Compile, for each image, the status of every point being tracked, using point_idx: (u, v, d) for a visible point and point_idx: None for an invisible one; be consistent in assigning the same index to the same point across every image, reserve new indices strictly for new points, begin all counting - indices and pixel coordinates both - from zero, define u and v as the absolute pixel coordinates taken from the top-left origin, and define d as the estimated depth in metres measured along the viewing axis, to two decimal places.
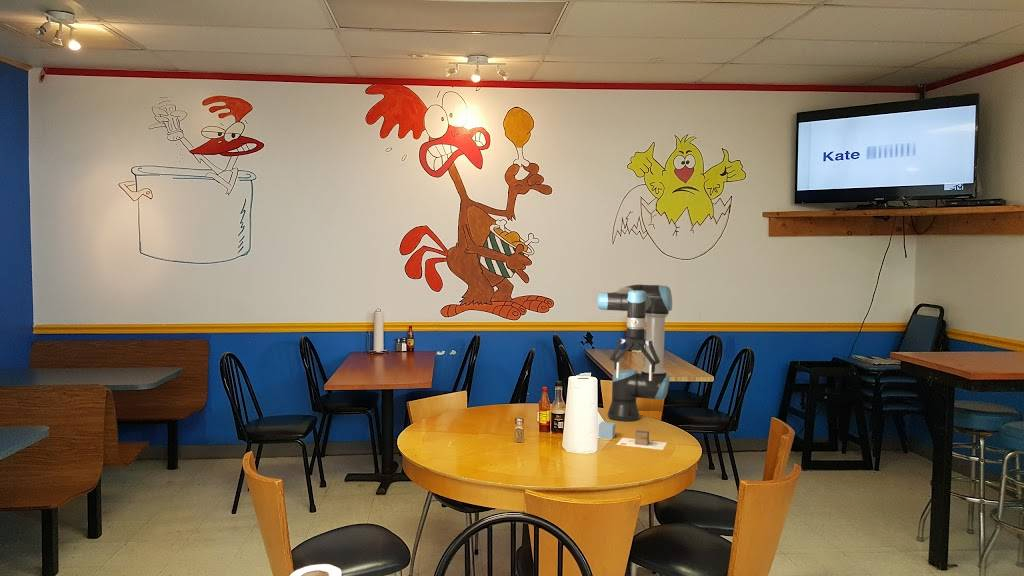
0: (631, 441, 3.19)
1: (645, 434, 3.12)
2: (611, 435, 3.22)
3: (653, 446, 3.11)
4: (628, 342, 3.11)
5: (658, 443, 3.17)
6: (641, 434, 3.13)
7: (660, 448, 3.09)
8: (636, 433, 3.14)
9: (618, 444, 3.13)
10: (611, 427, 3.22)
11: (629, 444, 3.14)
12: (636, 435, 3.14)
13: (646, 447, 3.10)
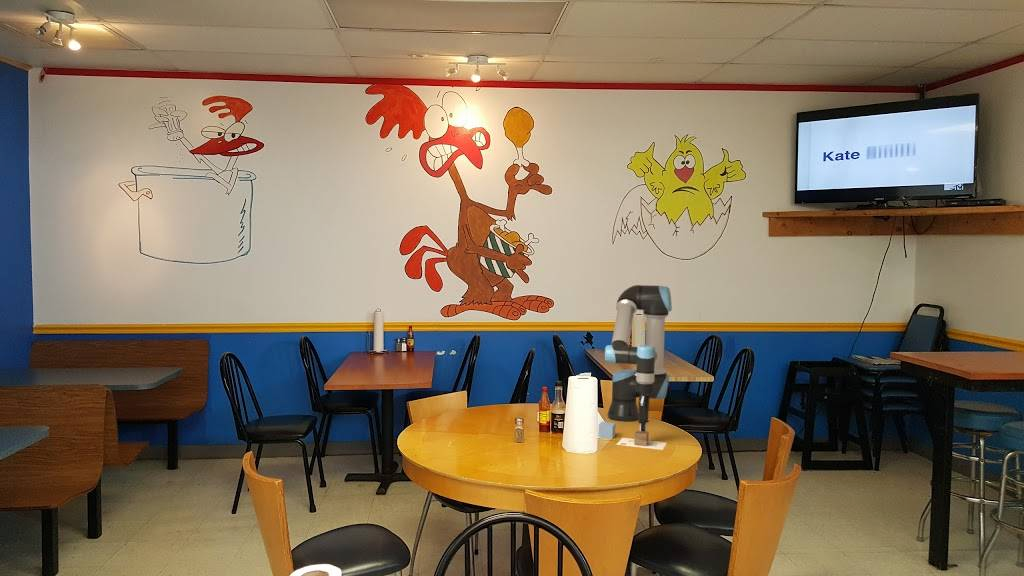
0: (631, 441, 3.19)
1: (645, 435, 3.11)
2: (611, 435, 3.22)
3: (653, 446, 3.11)
4: None
5: (658, 443, 3.17)
6: (640, 435, 3.12)
7: (660, 448, 3.09)
8: (635, 434, 3.12)
9: (618, 444, 3.13)
10: (611, 427, 3.22)
11: (629, 444, 3.14)
12: (635, 436, 3.12)
13: (646, 447, 3.10)
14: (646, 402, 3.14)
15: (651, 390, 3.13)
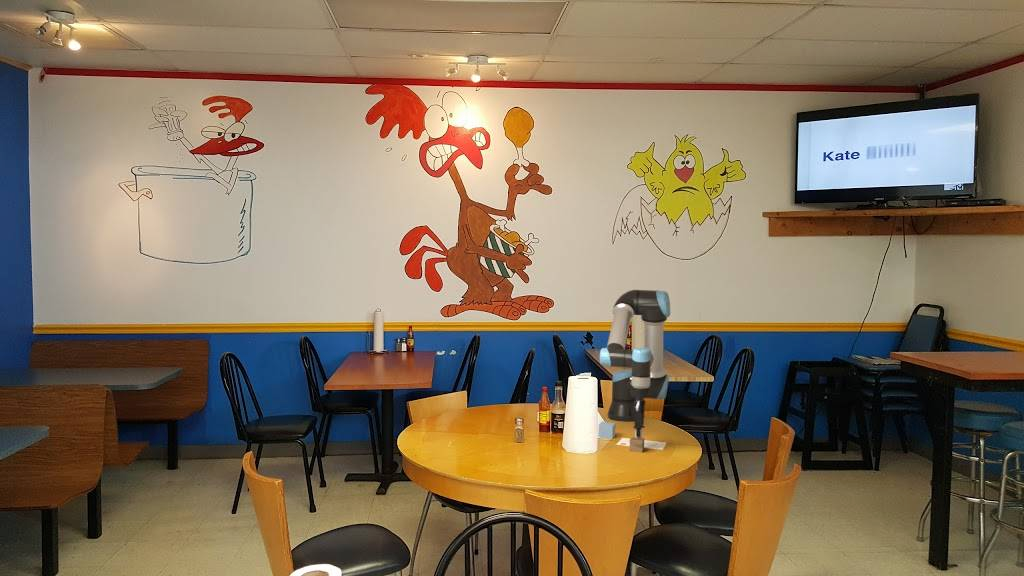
0: None
1: (640, 441, 3.01)
2: (611, 435, 3.22)
3: (653, 446, 3.11)
4: None
5: (658, 443, 3.17)
6: (636, 441, 3.02)
7: (660, 448, 3.09)
8: (631, 440, 3.03)
9: (618, 444, 3.13)
10: (611, 427, 3.22)
11: (629, 444, 3.14)
12: (631, 442, 3.03)
13: (646, 447, 3.10)
14: (642, 407, 3.05)
15: (647, 395, 3.04)
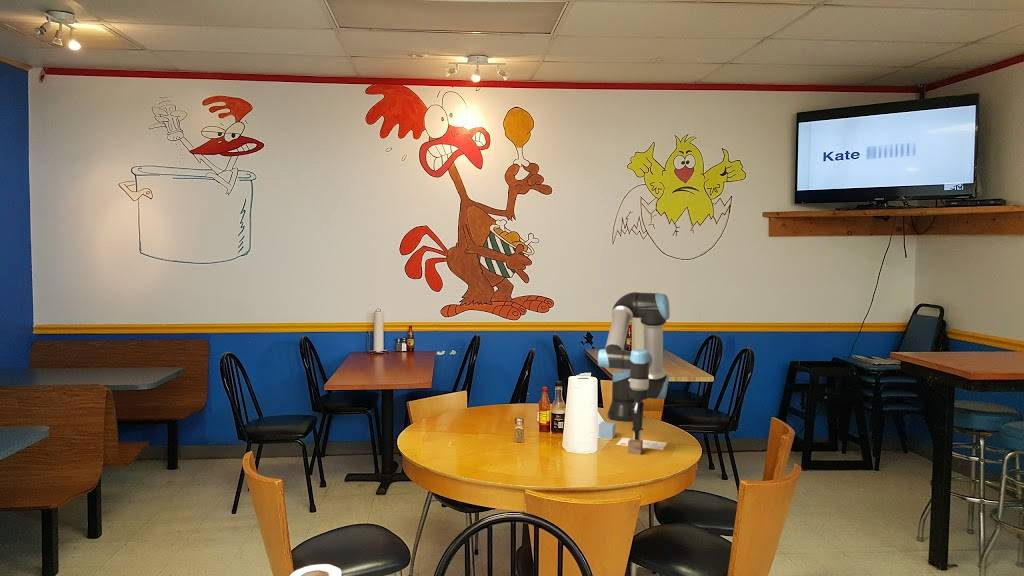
0: None
1: (638, 443, 2.98)
2: (611, 435, 3.22)
3: (653, 446, 3.11)
4: None
5: (658, 443, 3.17)
6: (634, 443, 2.99)
7: (660, 448, 3.09)
8: (629, 442, 3.00)
9: (618, 444, 3.13)
10: (611, 427, 3.22)
11: None
12: (629, 444, 3.00)
13: (646, 447, 3.10)
14: (640, 409, 3.01)
15: (645, 397, 3.00)
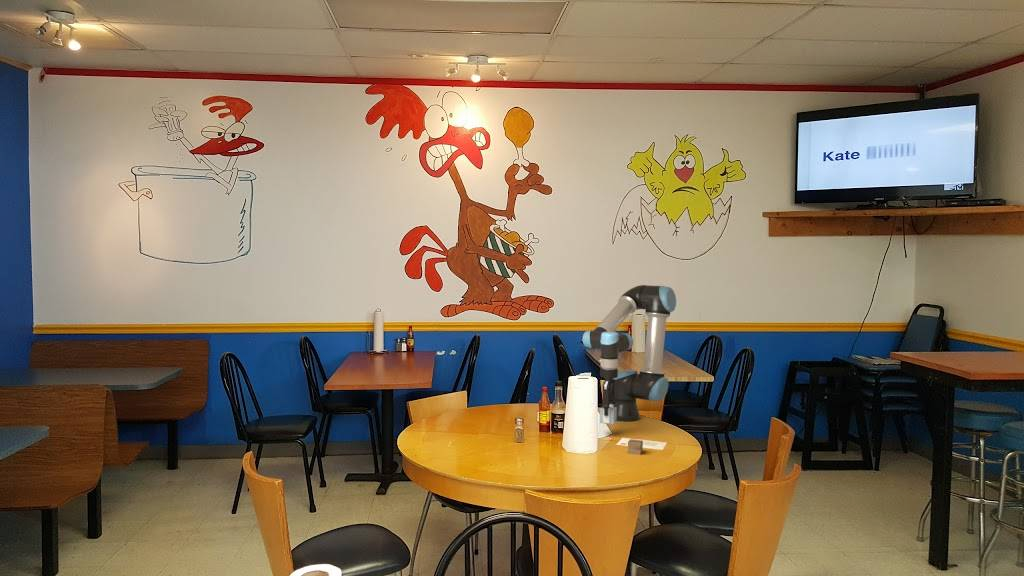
0: None
1: (638, 444, 2.98)
2: (612, 419, 3.22)
3: (653, 446, 3.11)
4: None
5: (658, 443, 3.17)
6: (634, 444, 2.99)
7: (660, 448, 3.09)
8: (629, 443, 2.99)
9: (618, 444, 3.13)
10: (612, 411, 3.22)
11: None
12: (629, 445, 2.99)
13: (646, 447, 3.10)
14: (610, 387, 3.22)
15: (615, 375, 3.21)
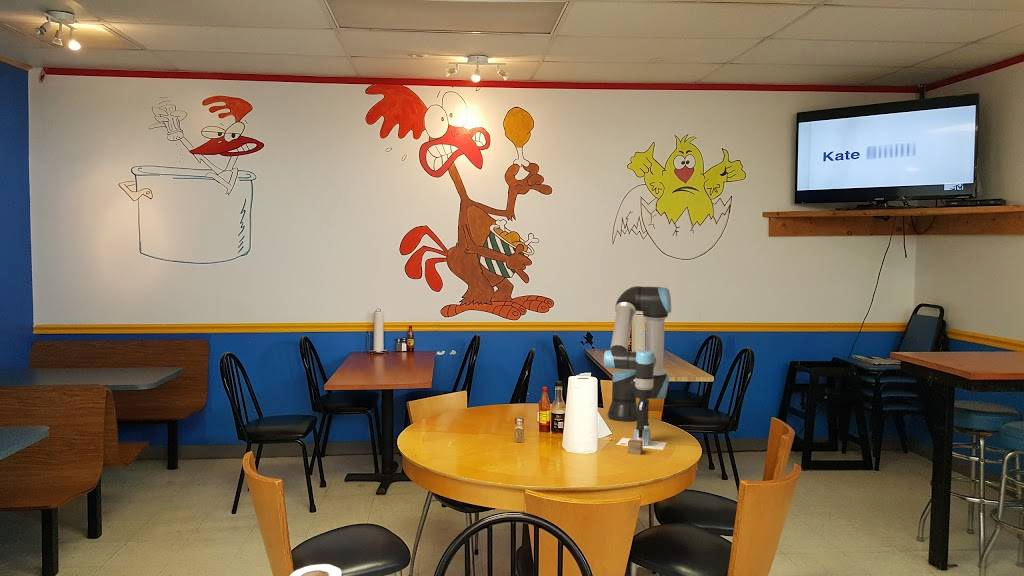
0: None
1: (638, 444, 2.98)
2: (646, 441, 3.12)
3: (653, 446, 3.11)
4: None
5: (658, 443, 3.17)
6: (634, 444, 2.99)
7: (660, 448, 3.09)
8: (629, 443, 2.99)
9: (618, 444, 3.13)
10: (647, 433, 3.12)
11: None
12: (629, 445, 2.99)
13: (646, 447, 3.10)
14: (645, 407, 3.12)
15: (650, 396, 3.12)
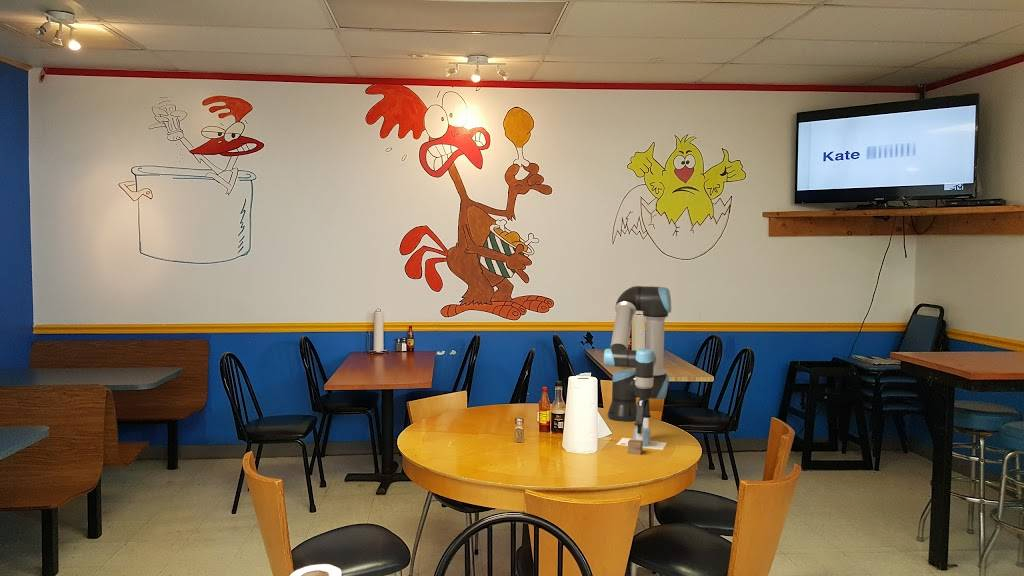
0: None
1: (638, 444, 2.98)
2: (646, 441, 3.12)
3: (653, 446, 3.11)
4: None
5: (658, 443, 3.17)
6: (634, 444, 2.99)
7: (660, 448, 3.09)
8: (629, 443, 2.99)
9: (618, 444, 3.13)
10: (646, 433, 3.12)
11: None
12: (629, 445, 2.99)
13: (646, 447, 3.10)
14: (645, 405, 3.12)
15: (650, 394, 3.12)
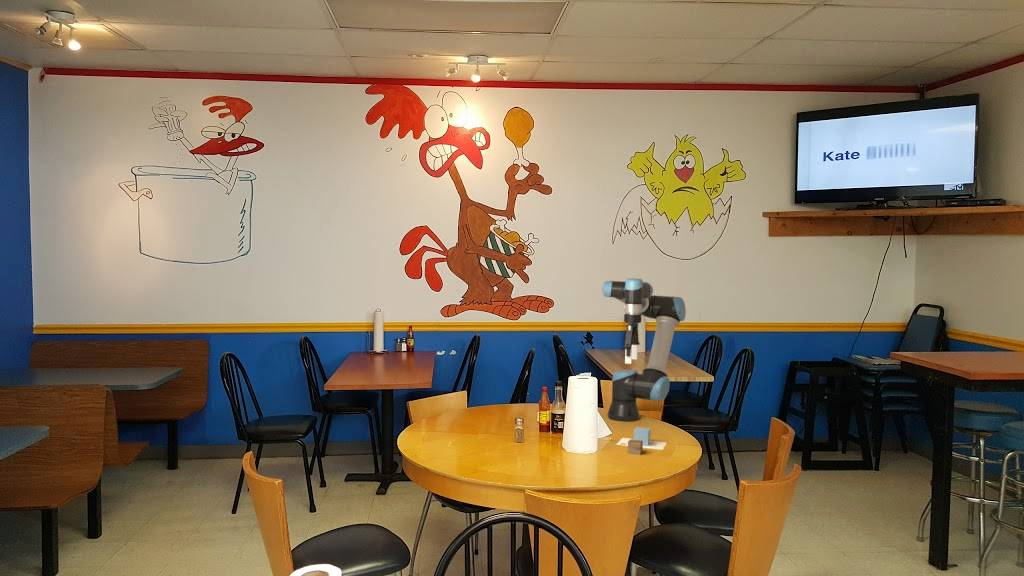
0: None
1: (638, 444, 2.98)
2: (646, 441, 3.12)
3: (653, 446, 3.11)
4: None
5: (658, 443, 3.17)
6: (634, 444, 2.99)
7: (660, 448, 3.09)
8: (629, 443, 2.99)
9: (618, 444, 3.13)
10: (646, 433, 3.12)
11: None
12: (629, 445, 2.99)
13: (646, 447, 3.10)
14: (633, 330, 3.30)
15: (639, 320, 3.30)
